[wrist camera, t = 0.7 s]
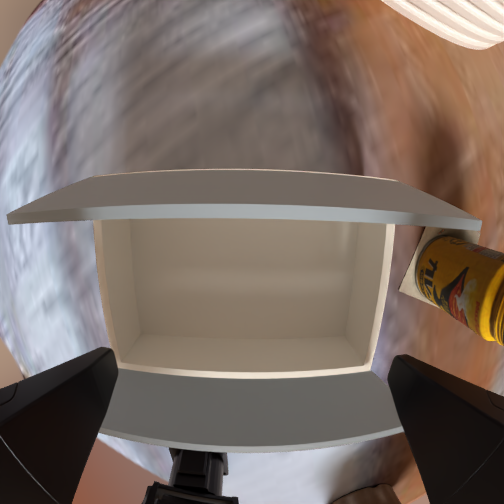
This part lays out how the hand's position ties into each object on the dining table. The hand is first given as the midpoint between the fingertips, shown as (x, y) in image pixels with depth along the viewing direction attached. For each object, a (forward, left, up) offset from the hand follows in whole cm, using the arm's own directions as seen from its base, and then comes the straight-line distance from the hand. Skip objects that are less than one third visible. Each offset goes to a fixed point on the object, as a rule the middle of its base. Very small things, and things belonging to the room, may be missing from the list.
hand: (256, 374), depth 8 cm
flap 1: (+5, +1, -4) cm, 7 cm away
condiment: (0, -17, -14) cm, 22 cm away
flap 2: (-5, +1, -4) cm, 7 cm away
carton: (0, +1, -13) cm, 13 cm away
